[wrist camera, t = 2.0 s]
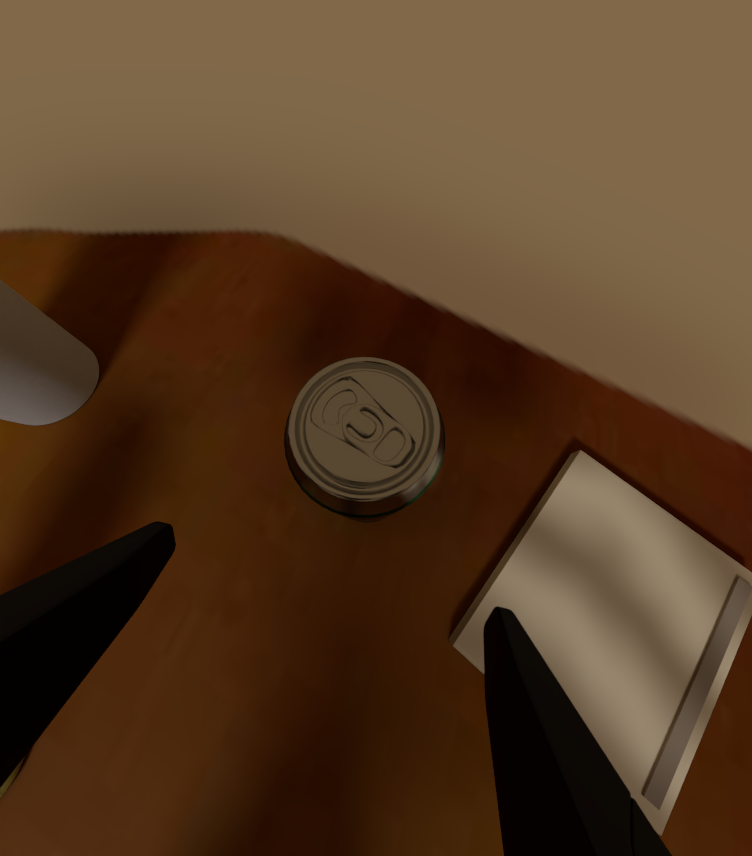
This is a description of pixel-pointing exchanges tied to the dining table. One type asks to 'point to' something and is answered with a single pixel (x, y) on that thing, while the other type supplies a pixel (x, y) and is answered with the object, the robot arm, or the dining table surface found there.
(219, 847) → the dining table surface
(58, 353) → the coffee cup
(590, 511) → the white rectangular tray
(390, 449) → the soda can
